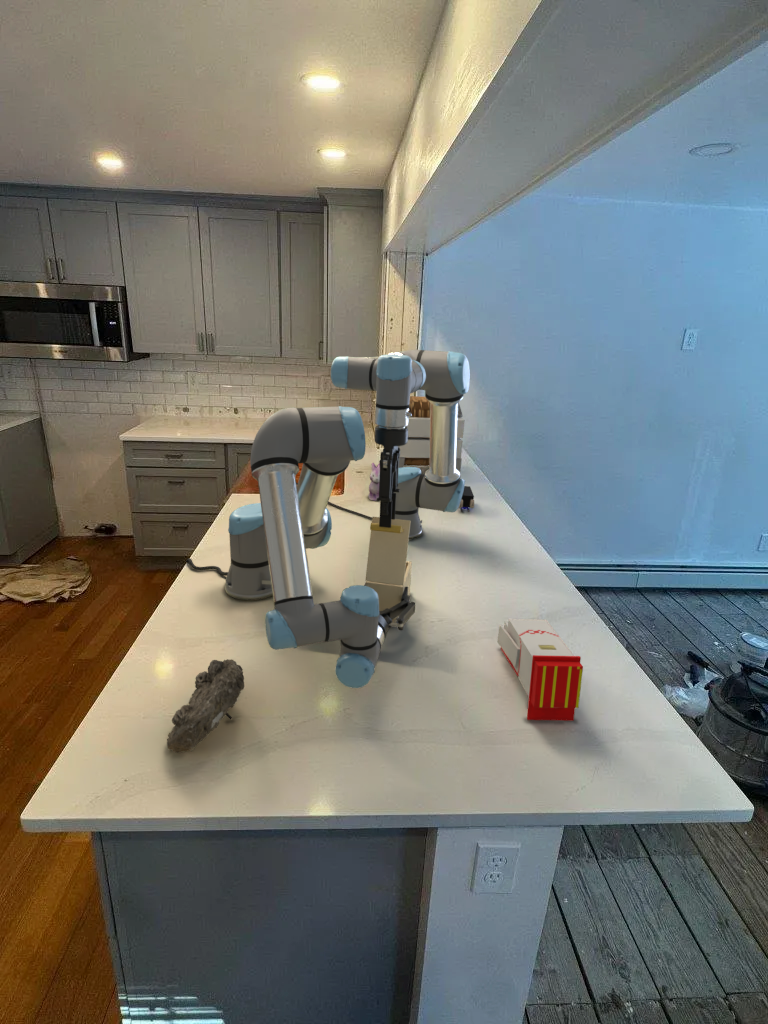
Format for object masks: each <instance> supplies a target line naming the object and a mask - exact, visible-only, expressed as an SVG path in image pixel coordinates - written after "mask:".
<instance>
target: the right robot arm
mask: <svg viewBox="0 0 768 1024" xmlns="http://www.w3.org/2000/svg"><path fill="white" fill-rule="evenodd" d="M470 370H471V368H470V362H469V359H468V357H467V356H466V355H465V354H464V353H462V352H455V351H451V350H450V351H445V350H428V349H427V350H426V349H408V350H402V351H392V352H389V353H388V354H381V355H380V356H358V357H357V356H348V355H345V356H336V357H335V358H334V359H333V361H332V363H331V367H330V379H331V383H332V385H333V386H334V387H336V388H339V389H345V390H356V391H357V390H359V391H372V392H375V410H374V412H375V413H374V424H375V425H376V426H375V427H374V442H375V444H376V445H379V446H382V447H383V449H382V451H380V457H379V462H378V464H379V463H380V480H379V498H377V501H376V502H379V517H380V520H379V527H388V528H391V519H393V520H395V519H400V520H409V521H411V523H410V532H409V541H410V540H415V539H418V538H420V537H421V536H422V535H423V525H422V524H423V519H421V518H420V515H419V509H425V510H432V511H439V512H443V513H456V512H457V511H458V509H459V505H460V502H461V498H462V495H463V491H464V486H466V485H465V484H466V480H465V479H464V478H461V474H460V473H459V471H458V470H457V469H456V444H457V418H458V402H459V403H460V402H461V401H463V399H464V395H465V394H467V393H468V392H469V389H470V383H471V382H470V380H471V371H470ZM420 390H421V391H424V397H425V398H426V399H427V400H428V401H429V402H430V466H429V468H428V469H427V470H426V471H425V472H424V473H422V470H421V468H419V467H417V466H404V467H402V468H399V457H400V447H398V446H403V445H405V444H407V441H408V429H407V427H405V426H407V425H408V417H411V415H412V414H411V413H410V412H409V413H408V411H409V403H410V396H411V394H413V393H416V392H417V391H420ZM296 485H298V482H296ZM327 505H330V506H333V507H335V508H337V509H340V510H342V511H345V512H348V513H350V514H354V515H357V516H360V517H362V518H365V519H367V520H371V521H372V517H373V516H369V515H366V514H363V513H361V512H358V511H354V510H352V509H348V508H345V507H342V506H340V505H338V504H336V503H333V502H331V501H330V500H329V501H328V504H327Z"/></svg>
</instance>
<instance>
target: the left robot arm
mask: <svg viewBox="0 0 768 1024" xmlns="http://www.w3.org/2000/svg"><path fill="white" fill-rule="evenodd" d="M366 443H367V442H366V431H365V426H364V422H363V419H362V415H361V414H360V412H359V410H358V409H357V408H354V407H352V406H341V405H338V406H317V407H316V406H315V407H312V406H311V407H285V408H281V409H279V410H276V412H274V413H273V414H271V415H270V416H269V417H267V419H265V421H264V422H263V423H262V425H261V426H260V427H259V429H258V431H257V432H256V435H255V436H254V439H253V443H252V445H251V451H250V457H249V458H250V461H249V464H250V465H249V466H250V471H251V472H250V473H251V477H252V478H253V479H254V480H256V481H257V487H258V493H259V501H260V502H255V503H248V504H245V505H242V506H239V507H237V508H236V509H234V510H233V511H232V512H231V513H230V515H229V517H228V518H229V519H228V529H227V532H228V533H229V553H230V555H229V556H230V565H229V568H228V571H223V570H222V569H221V568H220V567H219V566H217V565H206V566H197V565H195V564H194V561H193V560H192V558H187V559H186V560H185V563H186V564H187V563H189V565H190V567H191V568H192V569H193V570H196V571H208V570H215V571H217V572H218V574H219V575H220V576H226V578H225V581H224V582H225V583H224V589H225V593H226V594H227V595H228V596H230V597H231V598H232V599H233V598H234V599H237V600H241V601H260V600H265V599H268V598H271V597H272V598H273V599H272V600H273V605H274V608H273V609H272V610H268V611H267V612H266V613H265V615H264V616H265V617H264V624H265V633H266V635H265V636H266V639H267V643H268V645H269V647H270V648H271V649H272V650H274V651H276V650H277V651H279V650H286V649H297V648H299V647H305V646H310V645H315V644H321V643H328V642H334V641H340V643H339V644H340V646H339V648H340V650H339V651H340V652H339V657H337V660H336V663H335V668H334V673H335V676H336V679H337V680H338V681H339V682H340V683H341V684H342V685H343V686H345V687H347V688H351V689H360V688H363V687H366V685H368V684H369V683H370V681H371V679H372V677H373V675H374V674H375V670H376V666H377V662H378V660H379V657H380V654H381V651H382V648H383V645H384V642H385V640H386V637H387V634H388V631H389V630H390V629H391V628H392V627H395V628H397V630H398V631H403V629H404V625H405V624H406V623H408V621H409V619H410V618H411V617H412V616H413V615H414V614H415V613H416V602H415V601H411V595H409V596H408V587H405V589H404V592H403V595H402V598H401V602H400V603H398V604H396V605H395V606H393V607H391V608H390V609H388V608H386V609H385V610H383V611H379V598H378V594H377V593H376V592H375V590H374V589H372V588H370V587H367V586H366V582H364V585H362V584H355V585H350V586H348V587H346V588H344V589H343V590H342V592H341V593H340V594H341V595H340V599H338V600H334V601H326V602H320V603H315V601H314V597H313V596H314V594H313V589H312V581H311V574H310V567H309V560H308V555H307V554H308V553H307V550H308V549H312V550H313V549H318V548H321V547H325V546H326V545H327V544H328V543H329V541H330V539H331V535H332V529H333V524H332V523H333V521H332V515H331V513H330V510H329V509H328V508H327V506H328V505H329V504H328V501H329V502H330V498H331V496H332V492H333V490H334V487H335V484H336V482H337V479H338V477H339V475H341V474H342V473H344V472H345V471H346V470H347V469H348V467H349V465H350V464H351V461H354V462H358V461H360V460H363V458H364V457H365V454H366ZM299 464H302V466H301V470H300V465H299ZM299 472H300V473H299ZM298 473H299V478H298V481H297V480H296V476H297V474H298ZM296 483H298V485H296ZM397 616H399V617H397ZM394 618H396V619H395V620H394V621H392V619H394Z"/></svg>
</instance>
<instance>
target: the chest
mask: <svg viewBox="0 0 768 1024" xmlns="http://www.w3.org/2000/svg"><path fill="white" fill-rule="evenodd" d="M412 565H413V561H411V560H406V568H405V577H404V585H396V584H388V583H380V582H372V581H365V583H366V586H367V587H370V588H372V589H374V590H375V592H376V593H377V594H378V598H379V611H383V610H385V609H386V608H388V609H390V608H391V607H393V606H395V605H396V604H398V603H400V602H401V598H402V595H403V592H404V589H405V587H408V596H411V581H412V580H411V579H412ZM397 617H399V616H397ZM395 619H396V618H394V619H392V621H394V620H395Z"/></svg>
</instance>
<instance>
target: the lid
mask: <svg viewBox="0 0 768 1024" xmlns="http://www.w3.org/2000/svg"><path fill="white" fill-rule="evenodd" d="M371 517H372V520H371V522H370V526H369V529H370V536H369V545H368V551H367V552H368V553H367V563H366V570H365V582H366V581H372V582H380V583H388V584H396V585H404V577H405V568H406V561H407V558H408V551H409V550H408V549H409V542H410V540H409V532H410V523H411V521H409V520H400V519H395V520H393V519H391V528H388V527H379V520H380V516H371Z"/></svg>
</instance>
